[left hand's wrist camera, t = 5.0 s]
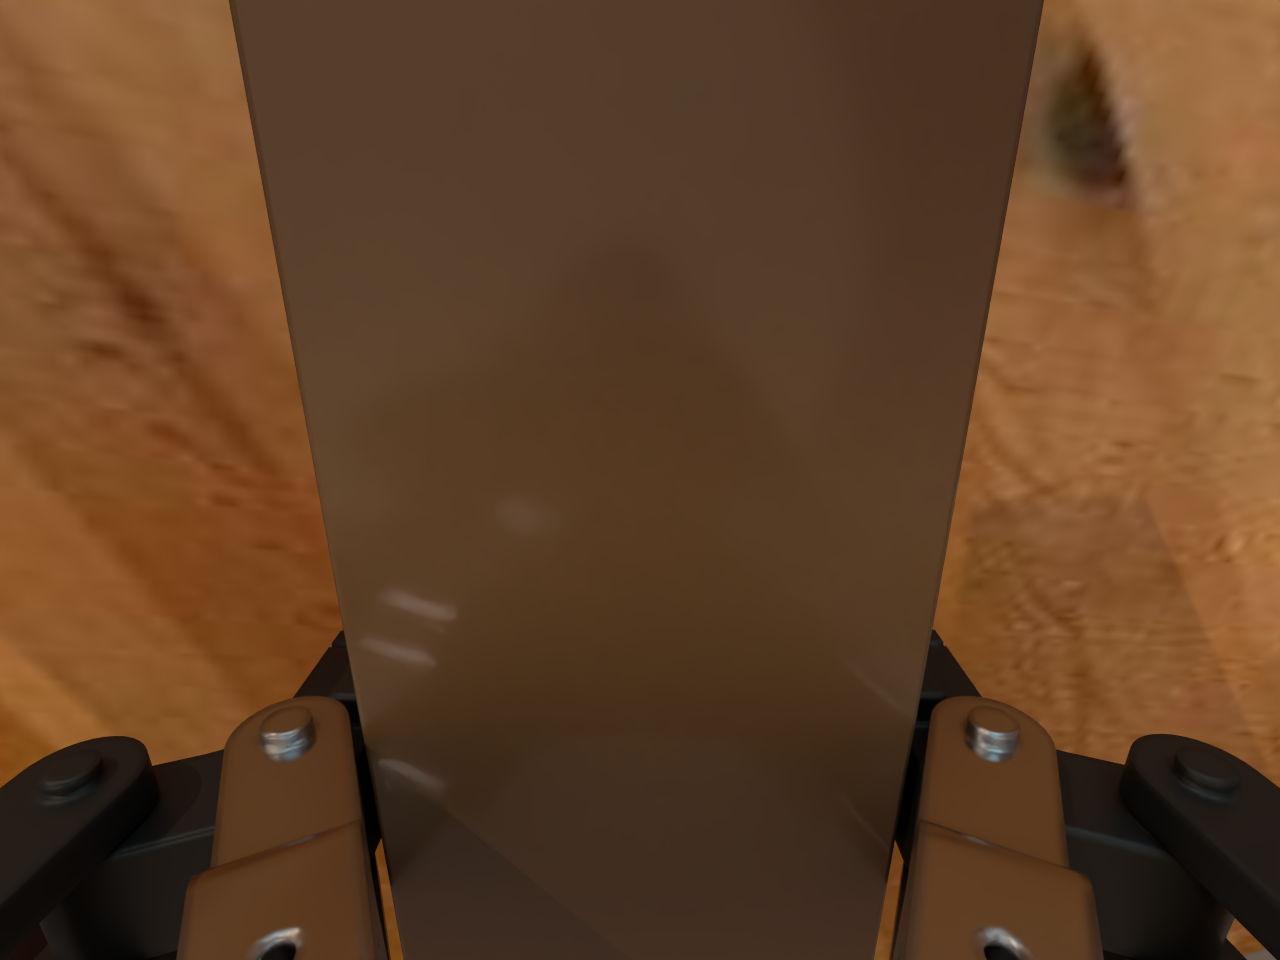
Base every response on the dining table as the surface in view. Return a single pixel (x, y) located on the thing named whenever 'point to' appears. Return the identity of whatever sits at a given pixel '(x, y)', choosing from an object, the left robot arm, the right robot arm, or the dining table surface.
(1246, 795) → the left robot arm
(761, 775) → the box
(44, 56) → the dining table surface
